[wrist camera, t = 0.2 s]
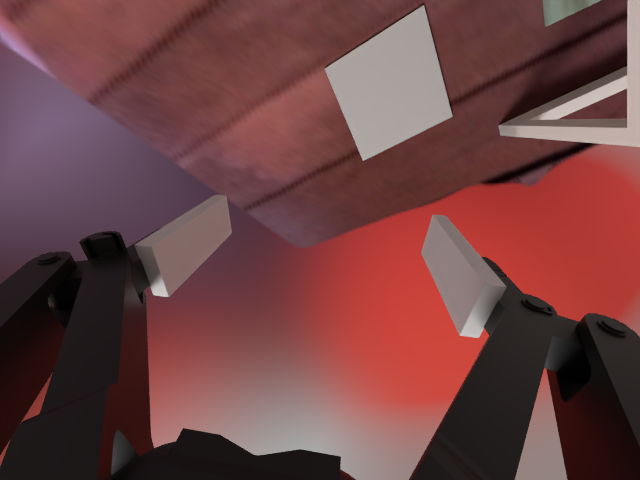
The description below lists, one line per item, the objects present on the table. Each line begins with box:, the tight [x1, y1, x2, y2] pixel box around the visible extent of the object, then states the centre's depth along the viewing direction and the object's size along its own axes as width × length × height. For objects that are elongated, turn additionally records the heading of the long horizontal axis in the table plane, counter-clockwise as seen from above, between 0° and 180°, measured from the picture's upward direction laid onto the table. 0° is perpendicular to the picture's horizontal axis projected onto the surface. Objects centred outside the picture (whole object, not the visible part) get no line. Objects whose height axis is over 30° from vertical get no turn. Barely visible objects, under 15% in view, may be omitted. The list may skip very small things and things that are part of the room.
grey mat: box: [325, 5, 453, 161], centre depth 35 cm, size 14×14×1 cm
